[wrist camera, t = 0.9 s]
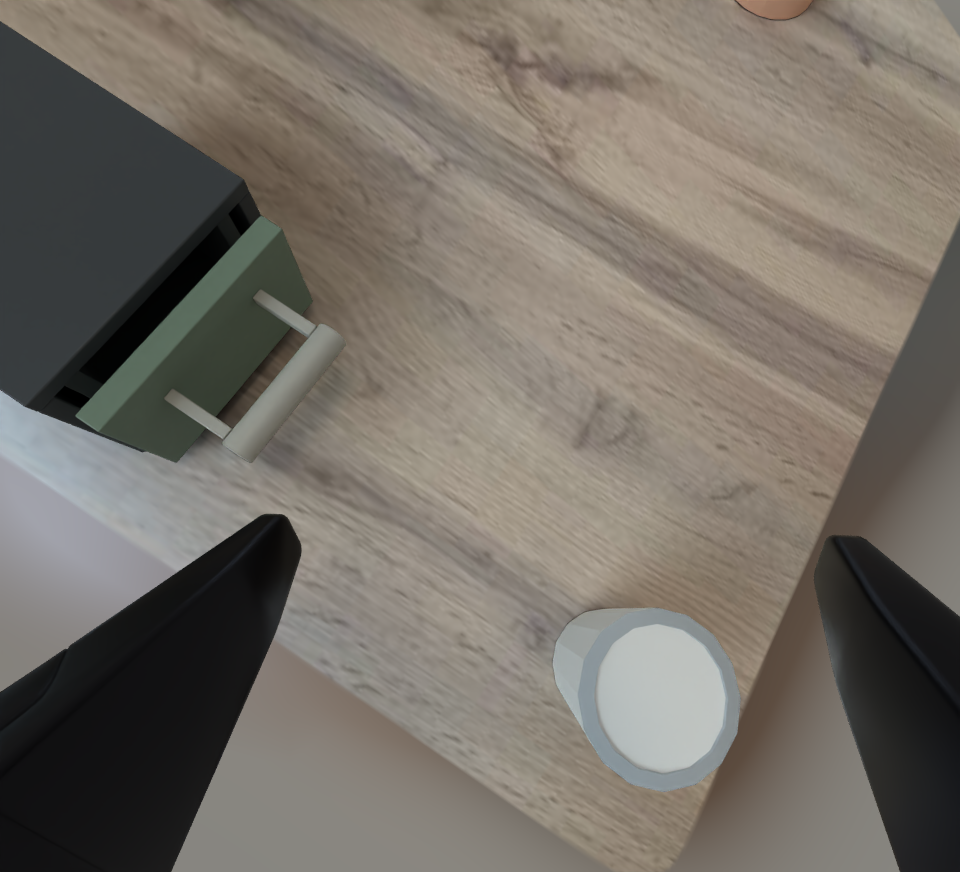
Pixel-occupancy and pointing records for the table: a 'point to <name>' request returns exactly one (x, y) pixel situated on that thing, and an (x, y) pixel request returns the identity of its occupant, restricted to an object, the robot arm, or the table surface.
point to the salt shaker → (776, 7)
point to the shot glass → (649, 693)
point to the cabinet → (88, 220)
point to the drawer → (208, 348)
